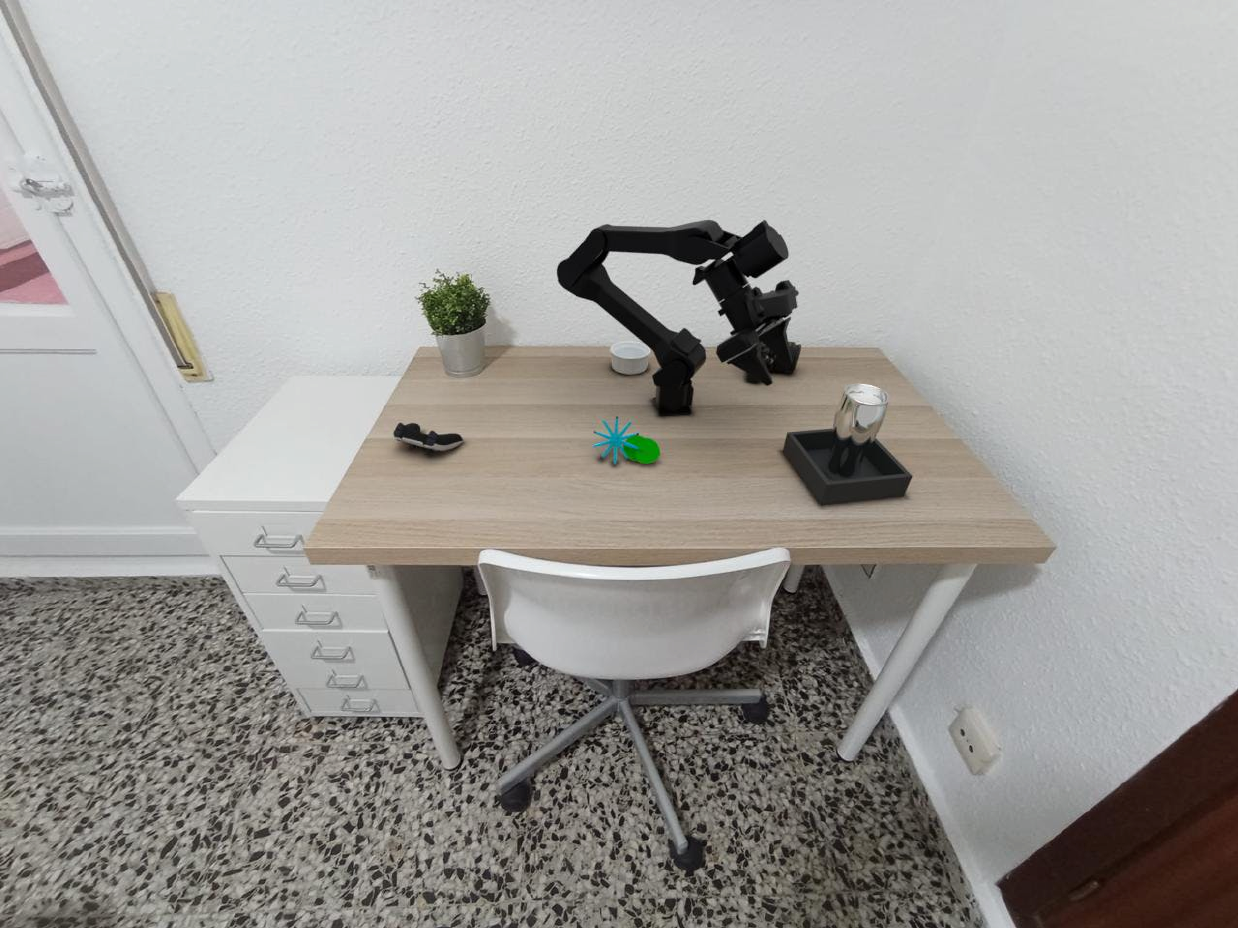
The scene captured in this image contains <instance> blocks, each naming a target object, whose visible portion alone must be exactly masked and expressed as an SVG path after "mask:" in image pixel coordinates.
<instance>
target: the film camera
mask: <svg viewBox="0 0 1238 928" xmlns="http://www.w3.org/2000/svg"><path fill="white" fill-rule="evenodd" d="M761 333H762V331H761V332H760V333H759V334H758V336H759V335H760V334H761ZM760 342H762V341H761V340H760V339H759V341H758V342H757V343H756V344H758V343H760ZM788 343H789V348H790V352H791V357H792V364H790V365H786V364H785V363H783V362H782V361H781V360H780V359H779V358H778V357H777V356H776V355H775V354H774V353H773V352H772V351H771V350H770V349H769V348H768V347H767V346H766V345H765V344H764V343H762V348H761V356H762V358H763V360H764V363H765V365H766V367H767V369H768V371H769V372H771V371H772V372H774V373H775V372H776V373H787V374H793V373H794V372H795V371H796V368H797V365H798V361H799V358H800V355H801V350H802V344H800V343H799V344H797V343H796V342H795V341H789V340H788ZM745 380H746V382H748V383H751V384H759V383H761V382H760V381H759V380H757V379H756V378H754V377H753V376H751V375H750V374H748V373H746V375H745Z"/></svg>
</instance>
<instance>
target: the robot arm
mask: <svg viewBox="0 0 1238 928" xmlns="http://www.w3.org/2000/svg"><path fill="white" fill-rule="evenodd" d="M611 252H612V253H626V254H627V253H628V254H630V253H631V254H648V255H663V256H667V257H669V258H671V259H673V260H675V261H677V262H681V263H685V264H689V265H692V266H697V267H695V268H694V276H693V278H692V282H691V283H692V286H697V285H698V284H701V283H703V282H704V281H705V282H706V285H707V286H708V288H709V289H710V292H711V293H712V295H713V297H714V298H715V300H716V302H717V303H718V306H719V307H720V309H719V310H717V313H718V315H719V317H722V316H724V315H725V317H726V319H727V321H728V322H729V324H730V325H731V328H732V329H733V330H731V331H730V332H729V334H730V336H729V337H727V338H726V339H724V340H722V342H720V343H719V344H717V346H716V351H715V354H716V356H717V357H718V359H719V361H720V363H721V364H723V363H725V362H726V364H727V365H732V366H734V367H736V368H738V369H739V370H742V371H743V372H745V373H746V374H747V373H748V374H750V375H751V376H753V377H754V378H756V379H757V380H759V381H760V382H759V383H762V384H763V385H765V386H767V387H768V386H770V385H773V379H772V376H771V374H770V371H768V369H767V367H766V365H765V363H764V360H763V358H762V356H761V348H762V343H764V344H765V345H766V346H767V347H768V348H769V349H770V350H771V351H772V352H773V353H774V354H775V355H776V356H777V357H778V358H779V359H780V360H781V361H782V362H783V363H785V364H786V365H790V364H792V357H791V352H790V348H789V343H788V341H789V339H788V333H787V330H788V327H789V325H790V322H791V320H792V316H791V314H793V313H794V312H793V311H794V310H795V309H798V301H797V297H798V296H799V293H800V292H799V290H797V288H796V285H793V284H792V282H791V281H790V280H789V279H786V280H780V281H779V282H778V283H776V286H775V289H773V290H770V291H768V292H762V290H761V288H760V287H758V286H757V285H755V286H754V287H753V288H752V286H751V284H750V283H749V281H748V279H749V278H752V279H758V278H759V277H761V276H763V275H764V274H766V273H768V272H769V271H770V270H772V269H774V268H775V267H777V266H778V265H780V264H781V263H783V262H784V261H786V260H788V259H789V256H790V255H789V248H788V246H787V243H786V240H785V239H784V237H783V235H782V234H781V233H780V234H779V233H778V231H777V229H776V228H774V227H772V226H771V225H770V224H769V223H768V221H767V220H766V219H763V220H762V221H760V222H759V223H758V224H757V225H755V226H754V227H752V229H751V230H750V231H749V232H748V233H746V234H745V235H743V236H741V235H737V234H735V233H732V232H730V231H727V230H724V229H723V228H722V227H721V225H720V224H719V223H718V222H717V221H715V220H712V219H703V220H698V221H693V222H688V223H684V224H680V225H676V226H670V227H669V226H668V227H667V226H637V225H636V226H634V225H633V226H632V225H612V224H609V223H606V224H602V225H600V226H597V227H595V228H593V229H592V230H590V232H589V234H588V235H587V236H586V237H585V239H584V240H583V241H582V243H580V245H578V246H577V247H576V248H575V250H574V251H573V252H572V253H571V254H570V255H569V256H568V257H567V258H565V259H563V260H561V261H559V263H558V264H557V267H556V276H557V282H558V284H559V285H560V286H561V287H562V289H564V290H565V291H567V292H569V293H570V294H572V295H574V296H575V297H577V298H579V299H582V300H587V301H590V302H593V303H595V304H597V306H599V307H600V308H601V309H602V310H603V311H604V312H606V313H607V314H609V315H610V317H612V318H613V319H614V320H616V321H617V322H618V323H619V324H620V325H622V326H623V328H625V329H626V330H627V331H628V332H630V333H631V334H632V335H633V336H635V338H637V339H638V340H640V341H641V343H642V344H645V345H647V346H648V347H649V348H650V351H652V352H653V354H654V357H655V358H656V361H657V364H658V366H660V367H659V368H658V369H657V370H656V371H655V372H654V373H653V374H652V375H651V377H652V381H653V384H654V385H653V386H655V397H652V402H653V404H654V407H655V409H656V411H657V413H658V415H659V416H660V417H667V416H681V415H691V414H692V413H693V412H692V408H691V407H692V406H693V400H694V390H695V388H694V386H693V380H692V378H693V377H694V376H695V375H696V374H697V373H698V372H699V371H700V370H701V368H702V367H703V366H704V365H705V363H706V361H707V353H706V352H707V351H706V347H704V346H703V344H702V343H701V342H702V339H701V338H697V337H696V336H694V335H693V334H692V332H690V331H689V329H688V328H686V327H683V328H682V329H681V330H680V331H678V332H677V331H674V330H671V329H669V328H668V327H667V326H665V325H664V324H663V323H662V322H661V321H659V320H658V318H656V317H655V316H653V315H652V314H651V313H650V312H648V311H647V310H646V309H645V308H644V307H642V306H641V305H640V304H639V303H638V302H637V301H635V300H634V299H633V298H632V297H631V296H629V295H628V294H627V293H626V292H624V290H622V289H621V288H620V287H619V286H617V284H615V283H614V282H613V281H612V280H611V278H610V276H609V273H608V270H607V268H606V266H604V264H603V263H604V262H605V261H606V259H608V256H609V255H610V253H611ZM730 253H731V254H732V255H731V256H730V257H728V258H727V259H725V260H724V257H726V256H727V255H728V254H730ZM708 261H712V262H710V263H709V264H707V265H706V266H703V264H705V263H706V262H708ZM747 278H748V279H747ZM789 316H790V317H789ZM761 331H762V333H761V334H760V335H759V336H758V334H759V333H760V332H761ZM759 339H760V340H761V341H762V342H760V343H758V344H756V343H757V342H758V341H759Z"/></svg>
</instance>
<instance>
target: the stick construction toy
mask: <svg viewBox="0 0 1238 928" xmlns="http://www.w3.org/2000/svg"><path fill="white" fill-rule="evenodd" d="M601 422H602V424H603V425H604V427H605V428H606V430H607V432H608V433H609V434H605V433H602V432H599V431H596V430H594V431H593V434H595V435H597V436H599V437H602V438H604V439H607V440H605V441H602V442H599V443H596V444H593V445H592V447H593V448H598V447H602V446H606V445H607V448H606V449H605V450H604V452H603V453H602V455H600V459H601V460H603V459H604V458H605V457H606V455H607V454H608V453H609V452H610V451H611V450H612V449H613V464H614V465H617V461H618V460H617V458H618V449H619V451H620V452H621V453H622V455H623V456H624V457H625V459H626V460H627V461H630V460H631V461H633V462H639V463H640V464H645V465H648V464H652V463H654V462H656V461H657V460H658V459H659V457H660V456H661V448H660V446H659V444H658V443H657V441H655V440H654V439H652V438H650V437H645V436H643V435H640V433H639V432H635V433H632V434H631V433H630V434H627V435H624V434H625V433H626V432H627V430H628V429H629V427H630V426H631V424H632V421H631V420H630V421H629V422H628V423H627V424H626V425H625V426H624V427H623V428H622V430H620V432H619V416H618V415H616V416H615V422H614V431H613V430H612V429H611V427H610V426H609V425H608V423H607V422H606V420H605V419H602V421H601Z"/></svg>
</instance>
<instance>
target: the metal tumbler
mask: <svg viewBox="0 0 1238 928" xmlns="http://www.w3.org/2000/svg"><path fill="white" fill-rule="evenodd" d="M889 395H890V394H888V393H887V392H886V391H885V390H883V389H882V388H880V387H878V386H875V385H871V384H868V383H852V384H848V385H847V386H845V387H844V390H843V393H842V394H841V397H840V399H839V403H838V405H837V407H836V411H835V415H834V417H833V425H832V428H833V433H832V443H831V449H830V452H829V454H828V456H827V458H826V460H825V461H824V463H823V467H822V468H823V471H824V472H825V474H826V475H828V476H829V477H831V478H832V479H835V480H848V479H858V478H859V477H860V473H861V465H862V461H863V458H864V456H865V454H866V452H867V450H868V449H869V447H870V446H871V444H872V442H873V441H874V439H875V438H876V439H877V436H878V434H879V432H880V430H881V427H882V425H883V422H884V420H885V416H886V412H887V409H888V404H889V401H890V396H889Z"/></svg>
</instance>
